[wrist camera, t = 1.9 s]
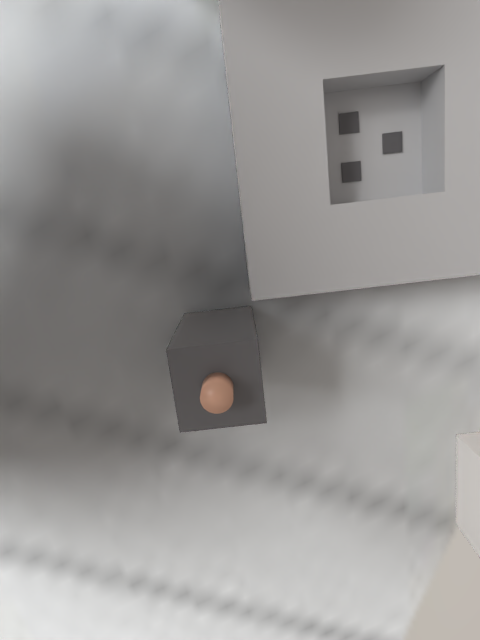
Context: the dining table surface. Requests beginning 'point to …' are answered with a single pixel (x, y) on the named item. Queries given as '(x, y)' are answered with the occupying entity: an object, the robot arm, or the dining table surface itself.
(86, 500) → the dining table surface
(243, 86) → the socket plate
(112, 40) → the dining table surface
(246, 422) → the plug
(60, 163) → the dining table surface
